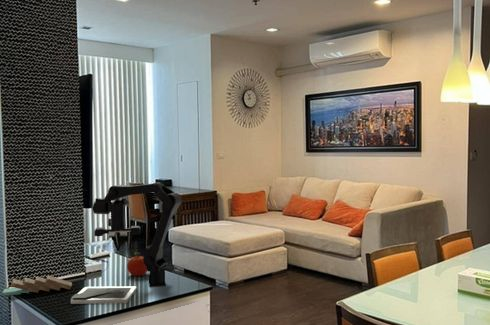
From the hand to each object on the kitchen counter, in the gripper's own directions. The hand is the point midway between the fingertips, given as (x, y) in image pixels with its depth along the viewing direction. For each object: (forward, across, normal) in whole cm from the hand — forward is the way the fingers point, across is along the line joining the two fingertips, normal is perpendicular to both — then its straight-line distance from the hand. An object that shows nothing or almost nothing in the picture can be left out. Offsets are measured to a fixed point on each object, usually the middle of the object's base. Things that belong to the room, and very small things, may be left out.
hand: (118, 251), depth 200 cm
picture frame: (+14, +4, +19) cm, 24 cm away
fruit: (+13, -8, -8) cm, 17 cm away
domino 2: (+12, +31, +6) cm, 34 cm away
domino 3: (+12, +27, +5) cm, 30 cm away
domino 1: (+13, +34, +5) cm, 36 cm away
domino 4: (+12, +23, +5) cm, 26 cm away
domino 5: (+12, +19, +5) cm, 23 cm away
